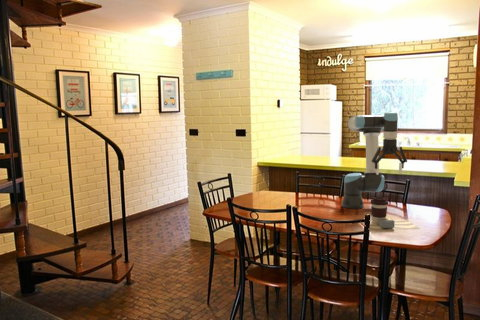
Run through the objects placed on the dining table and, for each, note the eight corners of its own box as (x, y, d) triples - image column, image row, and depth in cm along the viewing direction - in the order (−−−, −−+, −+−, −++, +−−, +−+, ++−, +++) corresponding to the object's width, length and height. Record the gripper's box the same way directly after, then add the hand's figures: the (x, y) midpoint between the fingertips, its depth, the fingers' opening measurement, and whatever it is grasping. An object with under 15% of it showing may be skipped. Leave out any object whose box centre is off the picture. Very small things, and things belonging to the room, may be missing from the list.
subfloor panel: (360, 223, 242) (360, 220, 242) (406, 222, 243) (406, 219, 242) (370, 232, 225) (370, 229, 224) (419, 231, 225) (419, 228, 225)
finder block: (378, 226, 230) (378, 218, 229) (390, 226, 230) (391, 217, 229) (381, 229, 225) (382, 220, 224) (394, 229, 225) (394, 220, 224)
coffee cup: (381, 226, 231) (381, 200, 229) (366, 222, 238) (367, 197, 236) (391, 223, 236) (391, 198, 234) (376, 219, 244) (377, 195, 242)
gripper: (370, 139, 232) (369, 175, 235) (414, 138, 231) (412, 174, 234) (366, 138, 239) (366, 173, 242) (408, 137, 239) (407, 172, 242)
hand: (388, 174), depth 238 cm, fingers open, 13 cm apart
